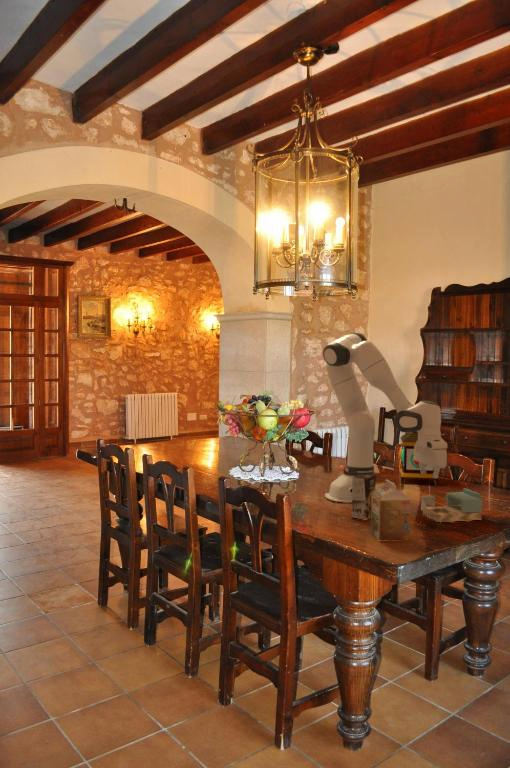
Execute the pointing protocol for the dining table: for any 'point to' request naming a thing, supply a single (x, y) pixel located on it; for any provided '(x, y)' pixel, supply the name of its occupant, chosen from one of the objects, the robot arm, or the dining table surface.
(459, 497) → the cover
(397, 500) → the milk carton
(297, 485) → the dining table surface
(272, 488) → the dining table surface
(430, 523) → the dining table surface
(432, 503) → the jaw block
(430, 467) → the decorative lantern
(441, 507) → the housing base
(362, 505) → the coffee box
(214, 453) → the dining table surface
